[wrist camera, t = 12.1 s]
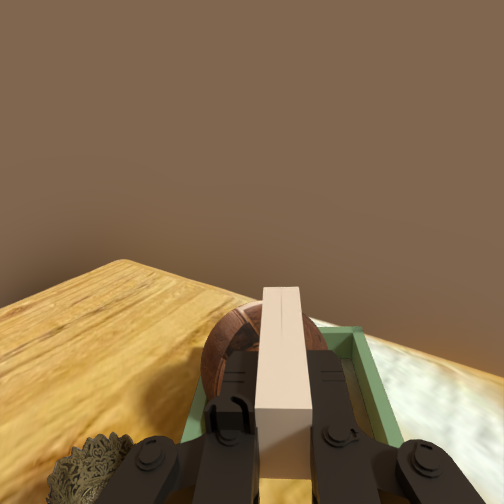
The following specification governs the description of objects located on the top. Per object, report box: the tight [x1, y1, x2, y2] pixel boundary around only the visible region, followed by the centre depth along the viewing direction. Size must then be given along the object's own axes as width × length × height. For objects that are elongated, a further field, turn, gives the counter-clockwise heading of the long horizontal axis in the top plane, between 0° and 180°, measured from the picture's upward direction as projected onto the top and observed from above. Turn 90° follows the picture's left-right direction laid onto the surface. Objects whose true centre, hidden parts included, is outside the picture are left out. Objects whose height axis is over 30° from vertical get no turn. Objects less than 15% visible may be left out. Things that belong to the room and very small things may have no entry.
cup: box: [46, 432, 136, 504], centre depth 32 cm, size 8×7×8 cm
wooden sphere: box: [201, 301, 329, 402], centre depth 41 cm, size 15×15×15 cm
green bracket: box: [180, 326, 404, 448], centre depth 45 cm, size 20×22×4 cm
